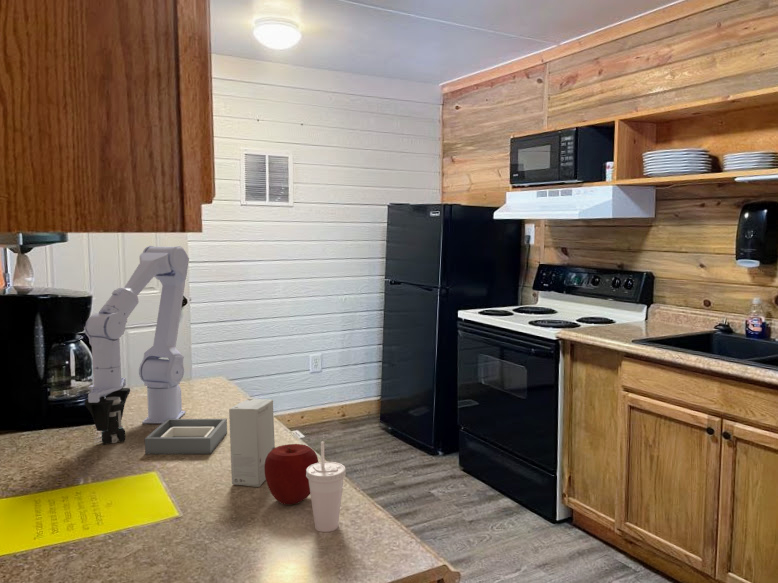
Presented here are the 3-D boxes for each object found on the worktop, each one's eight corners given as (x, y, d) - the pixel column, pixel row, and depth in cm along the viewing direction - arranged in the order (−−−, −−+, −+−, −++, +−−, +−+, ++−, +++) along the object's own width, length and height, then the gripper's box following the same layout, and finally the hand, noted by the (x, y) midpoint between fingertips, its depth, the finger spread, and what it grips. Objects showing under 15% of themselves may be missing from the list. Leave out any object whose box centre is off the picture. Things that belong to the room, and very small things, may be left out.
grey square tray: (168, 433, 147) (167, 418, 146) (227, 433, 147) (226, 418, 146) (145, 454, 133) (144, 438, 132) (210, 454, 133) (210, 438, 133)
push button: (96, 448, 137) (94, 404, 136) (92, 441, 141) (90, 398, 140) (128, 442, 140) (126, 399, 139) (123, 436, 145) (121, 394, 144)
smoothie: (318, 514, 104) (317, 434, 103) (352, 521, 102) (352, 438, 101) (299, 531, 98) (297, 446, 97) (335, 539, 96) (334, 451, 95)
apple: (280, 486, 116) (279, 434, 115) (328, 492, 113) (327, 439, 112) (255, 507, 107) (253, 451, 106) (305, 515, 104) (304, 457, 103)
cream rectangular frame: (171, 435, 144) (171, 426, 144) (215, 435, 144) (215, 426, 144) (159, 447, 136) (158, 438, 135) (205, 447, 136) (205, 438, 135)
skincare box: (259, 488, 115) (257, 410, 114) (229, 485, 117) (227, 408, 115) (276, 471, 123) (275, 398, 122) (248, 468, 125) (246, 396, 123)
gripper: (103, 359, 146) (106, 415, 147) (72, 373, 132) (76, 435, 133) (133, 359, 146) (135, 415, 148) (106, 373, 132) (108, 435, 133)
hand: (109, 425), depth 140 cm, fingers open, 7 cm apart
